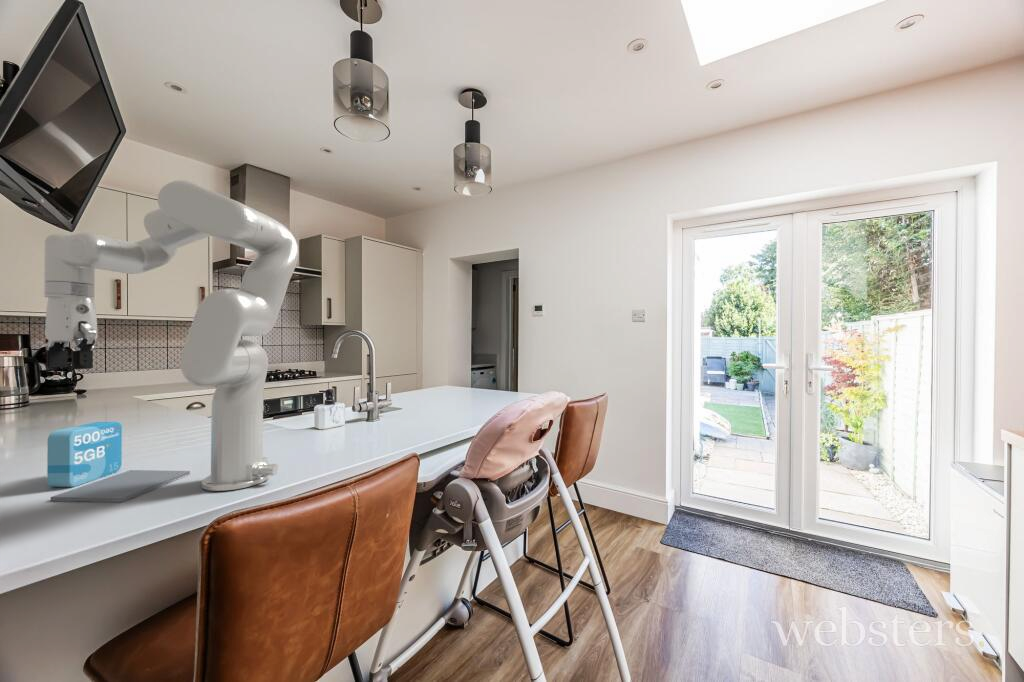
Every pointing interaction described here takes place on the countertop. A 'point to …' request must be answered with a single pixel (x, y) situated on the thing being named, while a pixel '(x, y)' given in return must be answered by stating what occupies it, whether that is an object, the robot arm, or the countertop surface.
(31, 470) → the countertop surface
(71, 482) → the data package
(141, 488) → the grey mat
